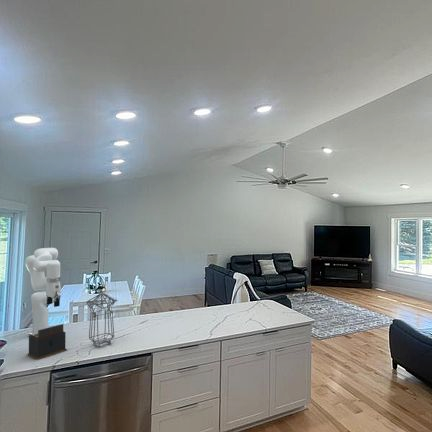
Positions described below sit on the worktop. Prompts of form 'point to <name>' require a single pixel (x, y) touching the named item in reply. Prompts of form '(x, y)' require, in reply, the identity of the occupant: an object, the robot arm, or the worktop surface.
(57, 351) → the wood-trimmed dark box
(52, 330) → the brown angular bar frame
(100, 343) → the geometric lantern
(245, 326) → the worktop surface
